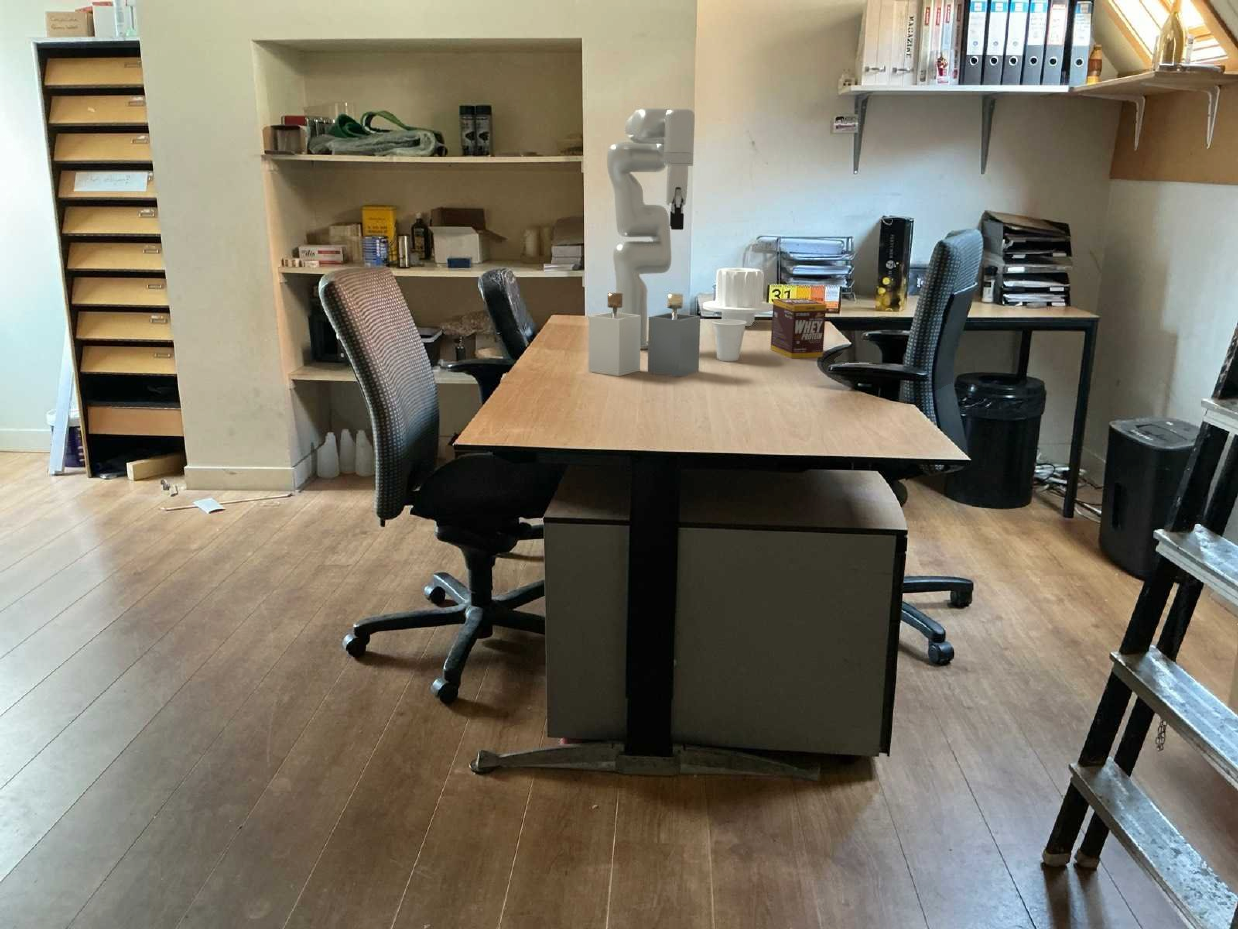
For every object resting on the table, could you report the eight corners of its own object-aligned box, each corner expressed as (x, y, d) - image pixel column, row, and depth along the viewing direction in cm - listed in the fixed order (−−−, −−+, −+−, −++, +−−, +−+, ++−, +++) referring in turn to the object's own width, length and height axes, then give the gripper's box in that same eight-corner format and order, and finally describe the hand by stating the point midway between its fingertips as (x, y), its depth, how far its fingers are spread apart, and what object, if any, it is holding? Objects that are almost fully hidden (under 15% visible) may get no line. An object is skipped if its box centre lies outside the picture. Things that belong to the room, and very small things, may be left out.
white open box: (588, 371, 279) (588, 316, 274) (610, 365, 286) (610, 311, 282) (618, 376, 273) (619, 319, 269) (639, 370, 281) (640, 315, 277)
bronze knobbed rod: (593, 366, 278) (594, 293, 273) (611, 361, 285) (611, 291, 279) (617, 369, 274) (618, 296, 269) (634, 365, 280) (636, 293, 275)
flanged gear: (695, 327, 355) (697, 271, 350) (710, 317, 378) (712, 265, 373) (767, 331, 348) (770, 274, 343) (778, 320, 371) (781, 267, 366)
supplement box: (791, 358, 300) (794, 305, 296) (769, 349, 315) (772, 298, 310) (823, 357, 303) (827, 304, 299) (801, 348, 317) (804, 297, 313)
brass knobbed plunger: (652, 367, 278) (654, 294, 273) (668, 362, 285) (670, 291, 279) (678, 370, 274) (680, 297, 268) (693, 366, 280) (696, 294, 275)
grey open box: (647, 372, 278) (648, 316, 274) (667, 366, 286) (669, 312, 282) (679, 377, 273) (680, 320, 269) (698, 371, 281) (700, 316, 276)
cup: (743, 363, 292) (745, 324, 289) (708, 361, 294) (710, 323, 291) (746, 357, 301) (748, 319, 298) (712, 355, 303) (714, 318, 300)
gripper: (663, 159, 272) (661, 225, 278) (664, 159, 256) (662, 230, 261) (691, 159, 272) (689, 225, 277) (694, 160, 256) (692, 230, 261)
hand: (676, 228), depth 269 cm, fingers open, 9 cm apart
